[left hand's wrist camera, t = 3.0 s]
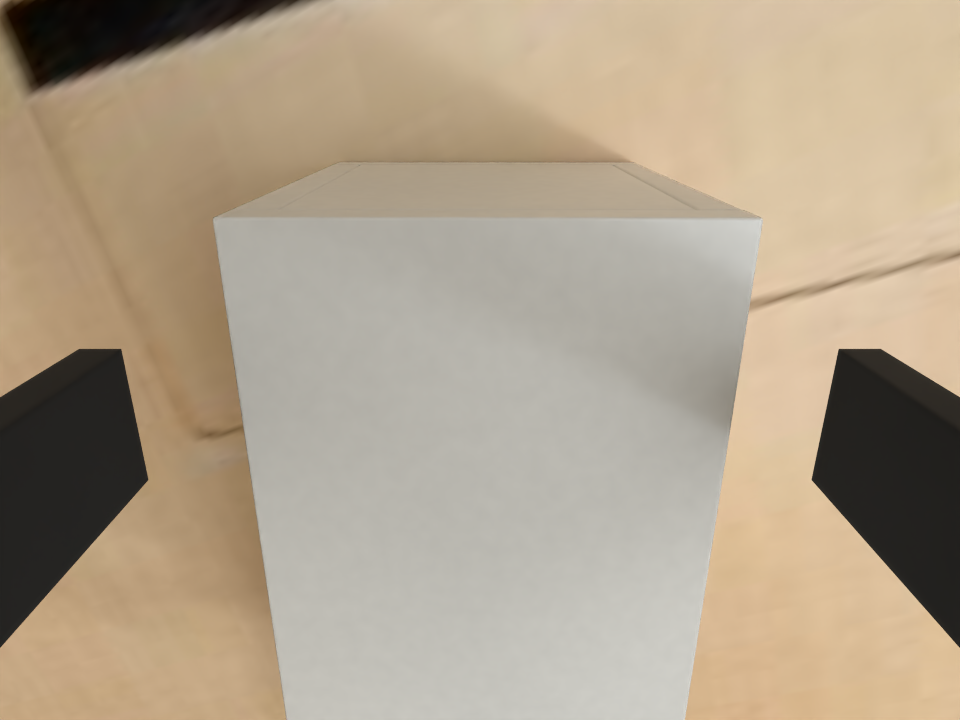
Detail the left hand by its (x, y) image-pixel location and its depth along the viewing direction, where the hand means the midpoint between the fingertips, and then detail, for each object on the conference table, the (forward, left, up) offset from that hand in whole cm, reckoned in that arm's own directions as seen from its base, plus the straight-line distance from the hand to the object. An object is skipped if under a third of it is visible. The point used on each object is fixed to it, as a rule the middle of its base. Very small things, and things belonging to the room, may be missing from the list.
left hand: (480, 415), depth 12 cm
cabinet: (+5, +2, -12) cm, 13 cm away
